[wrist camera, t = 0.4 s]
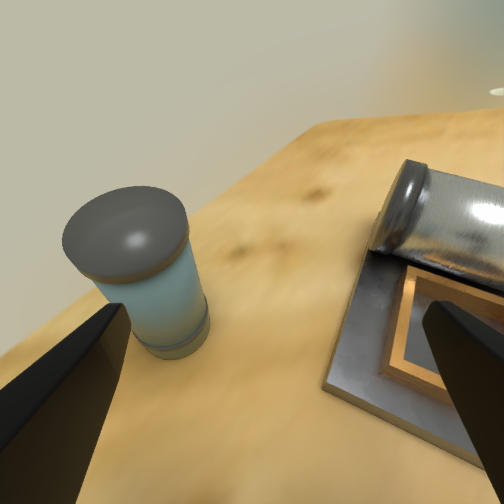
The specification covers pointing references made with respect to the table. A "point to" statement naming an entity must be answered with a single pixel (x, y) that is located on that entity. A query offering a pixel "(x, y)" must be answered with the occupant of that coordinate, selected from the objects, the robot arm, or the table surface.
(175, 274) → the grey-capped teal cylinder
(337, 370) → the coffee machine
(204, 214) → the table surface
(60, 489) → the robot arm
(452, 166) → the table surface
